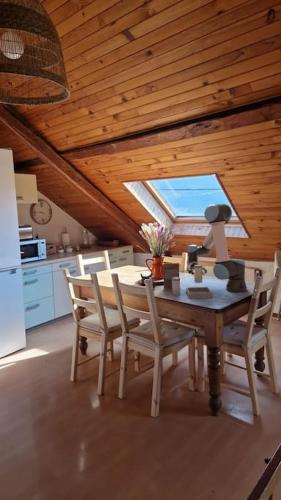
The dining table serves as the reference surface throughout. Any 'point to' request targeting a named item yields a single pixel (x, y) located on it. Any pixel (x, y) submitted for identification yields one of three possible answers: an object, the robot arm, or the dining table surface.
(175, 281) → the gray canister
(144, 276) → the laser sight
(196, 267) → the sage canister
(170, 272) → the panel
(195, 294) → the tray
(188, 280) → the dining table surface
